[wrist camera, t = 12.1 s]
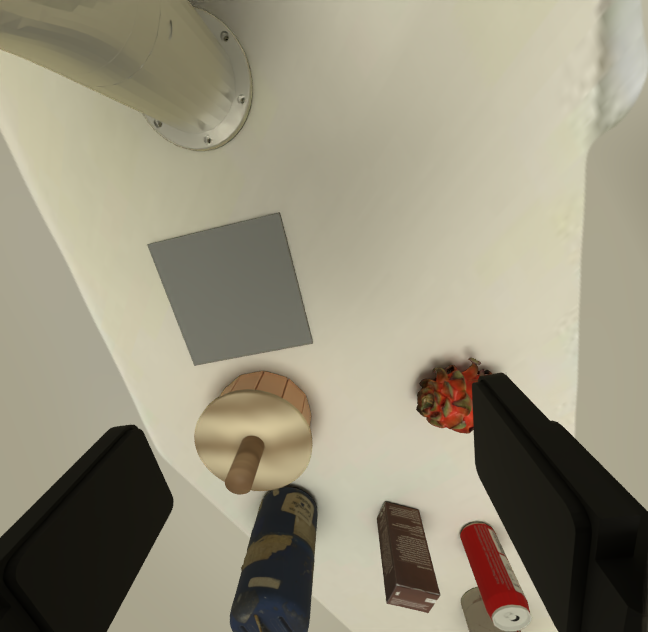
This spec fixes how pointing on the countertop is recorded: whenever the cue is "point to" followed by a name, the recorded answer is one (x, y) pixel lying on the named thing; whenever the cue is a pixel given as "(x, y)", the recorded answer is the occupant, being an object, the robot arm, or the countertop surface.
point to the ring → (273, 389)
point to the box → (406, 559)
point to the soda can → (495, 578)
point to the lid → (253, 440)
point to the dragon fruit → (450, 397)
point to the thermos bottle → (477, 613)
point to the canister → (278, 566)
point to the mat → (233, 290)
